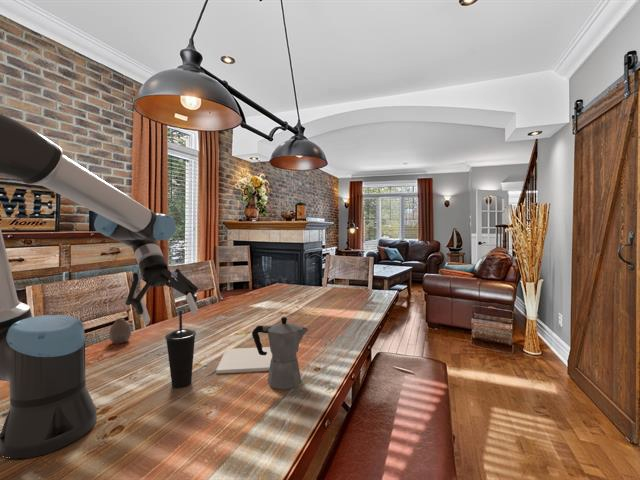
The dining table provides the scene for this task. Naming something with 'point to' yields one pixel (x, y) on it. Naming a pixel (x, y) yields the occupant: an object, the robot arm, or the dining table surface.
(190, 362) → the drinking cup
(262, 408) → the dining table surface
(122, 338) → the grey rounded lump
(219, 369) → the tile
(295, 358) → the coffeepot
